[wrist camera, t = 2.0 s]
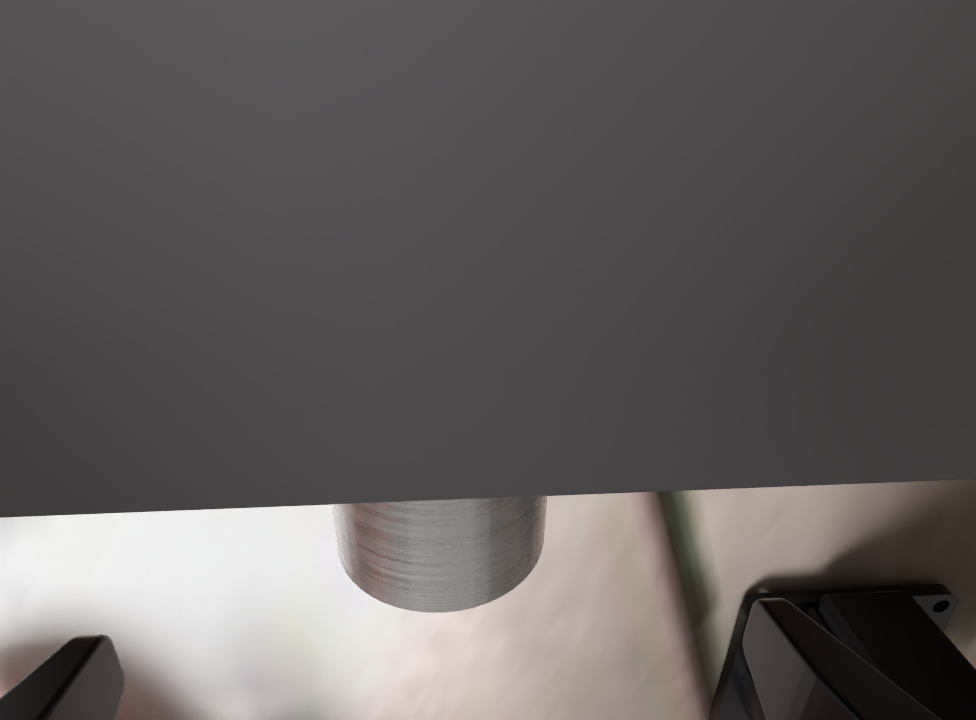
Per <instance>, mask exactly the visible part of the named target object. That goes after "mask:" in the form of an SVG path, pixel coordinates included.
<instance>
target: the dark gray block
mask: <svg viewBox="0 0 976 720" xmlns="http://www.w3.org/2000/svg"><path fill="white" fill-rule="evenodd" d="M960 479H976V0H0V517H23V516H48V515H73V514H99V513H124V512H149V511H175V510H200V509H225V508H251V507H276V506H301V505H327V504H352V503H377V502H403V501H428V500H453V499H479V498H504V497H529V496H555V495H580V494H605V493H631V492H656V491H681V490H707V489H732V488H757V487H783V486H808V485H834V484H859V483H884V482H910V481H935V480H960Z"/></svg>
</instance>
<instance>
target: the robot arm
mask: <svg viewBox="0 0 976 720" xmlns="http://www.w3.org/2000/svg"><path fill="white" fill-rule="evenodd" d="M957 603H958V600H957V597H956V596H955V595H954V594H953V593H952V592H951V591H950V590H949V589H948V588H947V587H946V586H944V585H943V584H926V585H907V586H889V587H870V588H851V589H832V590H814V591H795V592H776V593H760V594H755V595H752V596H750V597H748V598H747V599H746V600H745V601H744V602H743V603H742V605H741V607H740V611H739V615H738V618H737V622H736V625H735V629H734V632H733V636H732V639H731V643H730V646H729V650H728V653H727V657H726V660H725V664H724V667H723V671H722V674H721V678H720V681H719V685H718V688H717V692H716V695H715V699H714V702H713V706H712V709H711V713H710V716H709V720H976V669H975V668H974V667H973V666H972V665H971V664H970V662H969V661H968V660H967V659H966V658H965V657H964V656H963V654H962V653H961V652H960V651H959V650H958V649H957V647H956V646H955V645H954V644H953V643H952V642H951V641H950V639H949V638H948V637H947V636H946V635H945V634H944V630H945V628H946V626H947V624H948V622H949V620H950V618H951V616H952V614H953V612H954V610H955V608H956V606H957ZM124 686H125V675H124V671H123V668H122V666H121V663H120V660H119V658H118V655H117V653H116V650H115V647H114V645H113V642H112V640H111V638H110V637H108V636H107V635H103V634H101V635H82V636H77V637H74V638H72V639H70V640H69V641H68V642H66V643H65V644H64V645H63V646H61V647H60V648H59V649H58V650H57V651H55V652H54V653H53V654H52V655H51V656H50V657H48V658H47V659H46V660H45V661H44V662H42V663H41V664H40V665H39V666H38V667H36V668H35V669H34V670H33V671H32V672H30V673H29V674H28V675H27V676H26V677H25V678H23V679H22V680H21V681H20V682H19V683H17V684H16V685H15V686H14V687H13V688H11V689H10V690H9V691H8V692H7V693H6V694H4V695H3V696H2V697H1V698H0V720H115V718H116V715H117V712H118V708H119V705H120V702H121V698H122V695H123V691H124Z"/></svg>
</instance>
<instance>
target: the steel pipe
mask: <svg viewBox="0 0 976 720" xmlns="http://www.w3.org/2000/svg"><path fill="white" fill-rule="evenodd" d="M546 502H547V496H529V497H504V498H479V499H453V500H428V501H403V502H377V503H352V504H332V509H333V516H334V524H335V532H336V540H337V548H338V554H339V558H340V561H341V564H342V566H343V568H344V570H345V572H346V573H347V574H348V576H349V577H350V578H351V580H352V581H353V582H354V583H355V584H356V585H357V586H358V587H359V588H360V589H362V590H363V591H365V592H366V593H367V594H369V595H370V596H372V597H374V598H376V599H378V600H380V601H382V602H384V603H386V604H389V605H392V606H395V607H398V608H402V609H407V610H411V611H420V612H451V611H460V610H464V609H469V608H474V607H477V606H480V605H483V604H486V603H488V602H491V601H493V600H495V599H497V598H499V597H501V596H503V595H504V594H506V593H508V592H509V591H511V590H512V589H514V588H515V587H516V586H517V585H519V584H520V583H521V582H522V581H523V580H524V579H525V578H526V577H527V576H528V575H529V574H530V572H531V571H532V569H533V568H534V566H535V565H536V563H537V561H538V559H539V557H540V555H541V551H542V547H543V542H544V529H545V516H546Z"/></svg>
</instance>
